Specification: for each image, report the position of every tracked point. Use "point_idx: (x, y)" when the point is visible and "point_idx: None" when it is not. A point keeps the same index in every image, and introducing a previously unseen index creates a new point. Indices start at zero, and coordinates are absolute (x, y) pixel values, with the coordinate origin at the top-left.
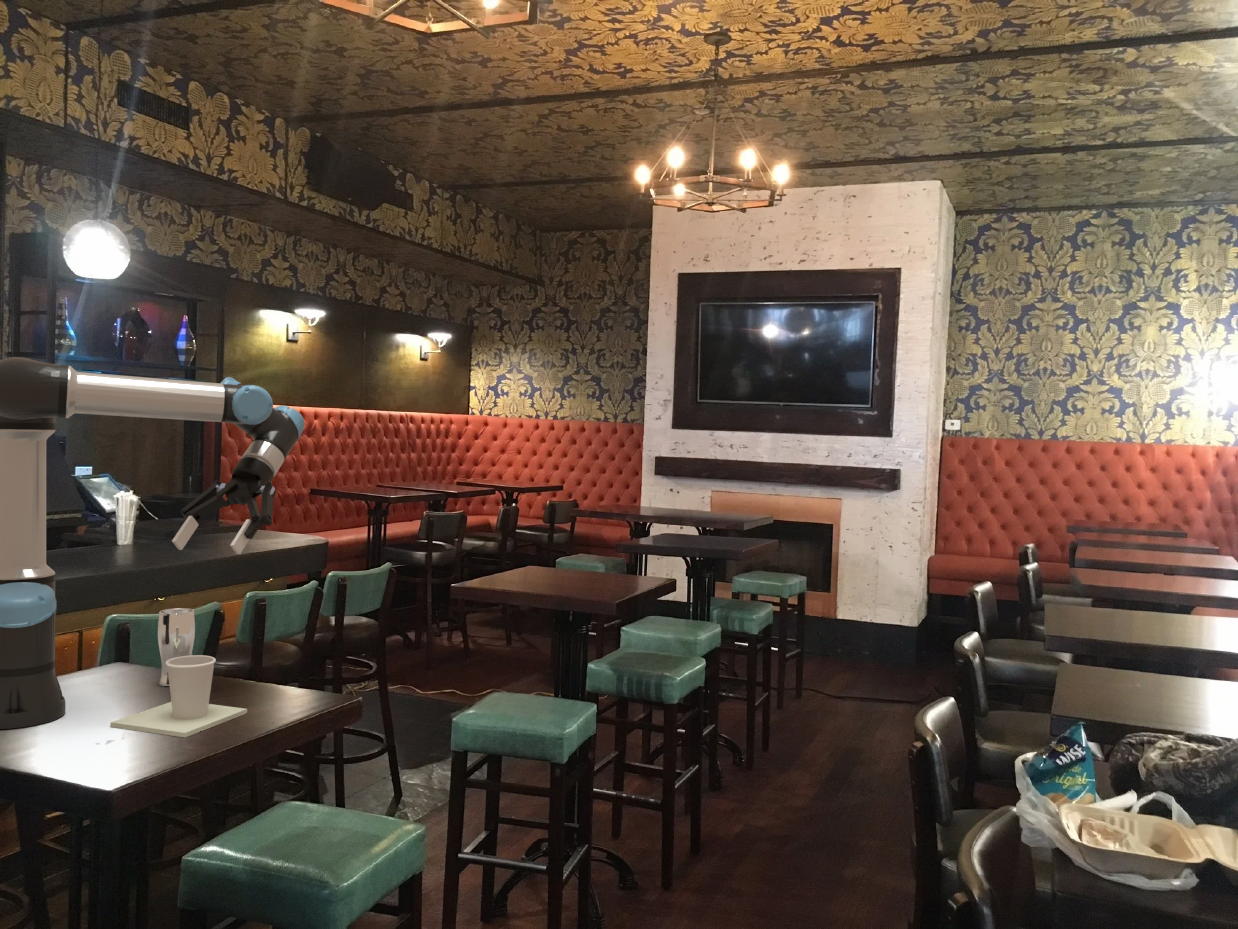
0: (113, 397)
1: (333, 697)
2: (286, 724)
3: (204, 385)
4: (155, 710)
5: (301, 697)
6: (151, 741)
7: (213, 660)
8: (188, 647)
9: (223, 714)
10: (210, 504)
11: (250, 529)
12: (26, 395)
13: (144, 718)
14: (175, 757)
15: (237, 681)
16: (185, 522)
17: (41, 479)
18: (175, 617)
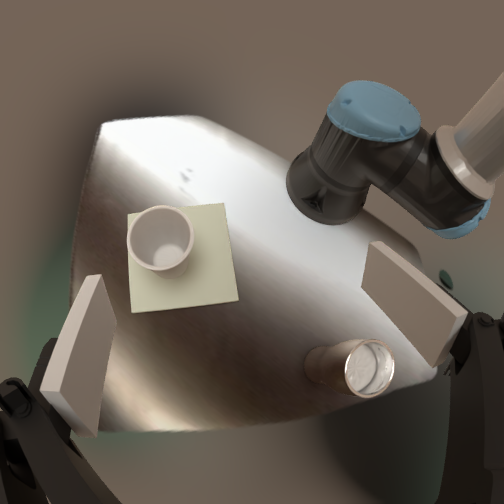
0: None
1: (100, 415)
2: (71, 299)
3: None
4: (220, 254)
5: (130, 400)
6: (150, 194)
7: (130, 250)
8: (320, 371)
9: (138, 281)
10: (477, 417)
11: (43, 360)
12: None
13: (204, 227)
14: (101, 178)
15: (265, 418)
16: (437, 290)
17: None
18: (348, 351)
